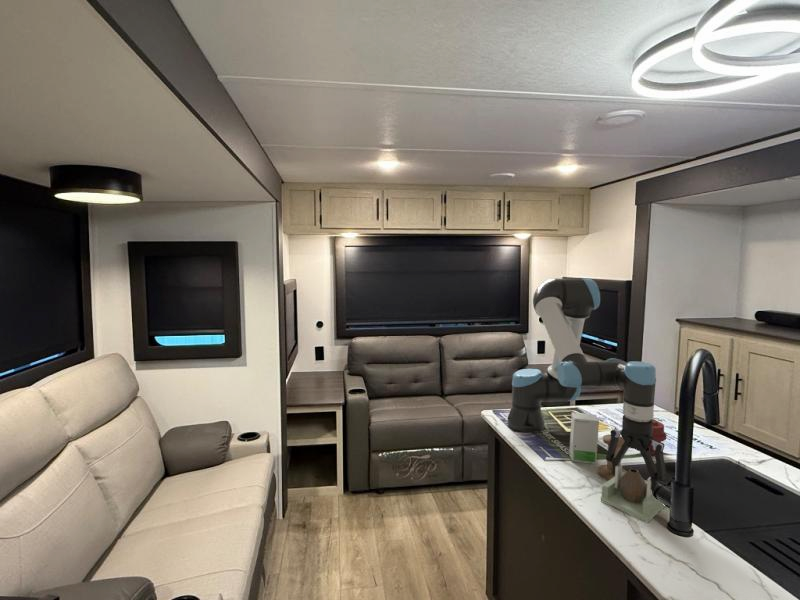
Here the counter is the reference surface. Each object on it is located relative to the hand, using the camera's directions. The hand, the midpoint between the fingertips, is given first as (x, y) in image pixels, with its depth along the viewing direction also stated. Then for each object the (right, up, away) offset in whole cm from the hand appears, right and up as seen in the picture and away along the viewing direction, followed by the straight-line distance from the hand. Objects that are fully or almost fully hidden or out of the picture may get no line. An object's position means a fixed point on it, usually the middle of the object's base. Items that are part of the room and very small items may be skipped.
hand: (633, 492), depth 123 cm
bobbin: (+2, -1, +16) cm, 16 cm away
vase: (0, -2, 0) cm, 2 cm away
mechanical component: (+22, 0, +31) cm, 38 cm away
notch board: (0, -3, +1) cm, 3 cm away
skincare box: (-3, 0, +27) cm, 27 cm away
